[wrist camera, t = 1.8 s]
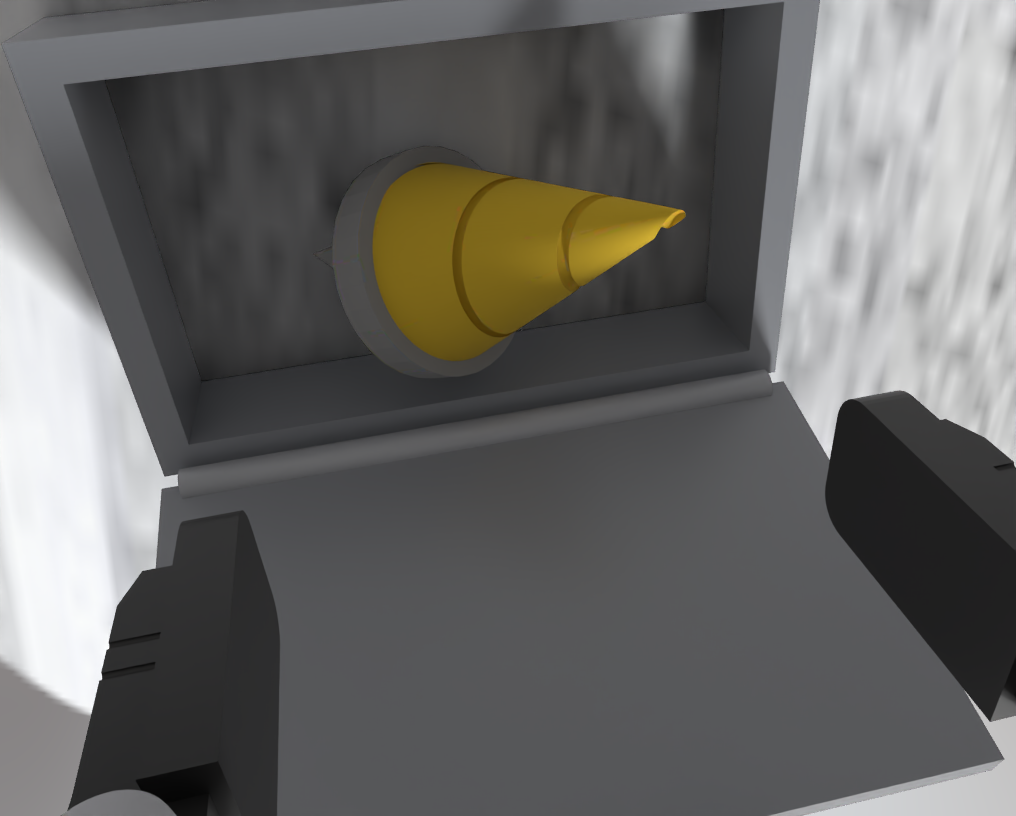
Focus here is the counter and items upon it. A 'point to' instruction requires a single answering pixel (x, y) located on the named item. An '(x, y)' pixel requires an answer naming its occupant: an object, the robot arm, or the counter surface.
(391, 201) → the drill bit
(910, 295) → the counter surface
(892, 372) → the counter surface
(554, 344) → the case
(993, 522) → the robot arm
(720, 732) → the lid
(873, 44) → the counter surface
